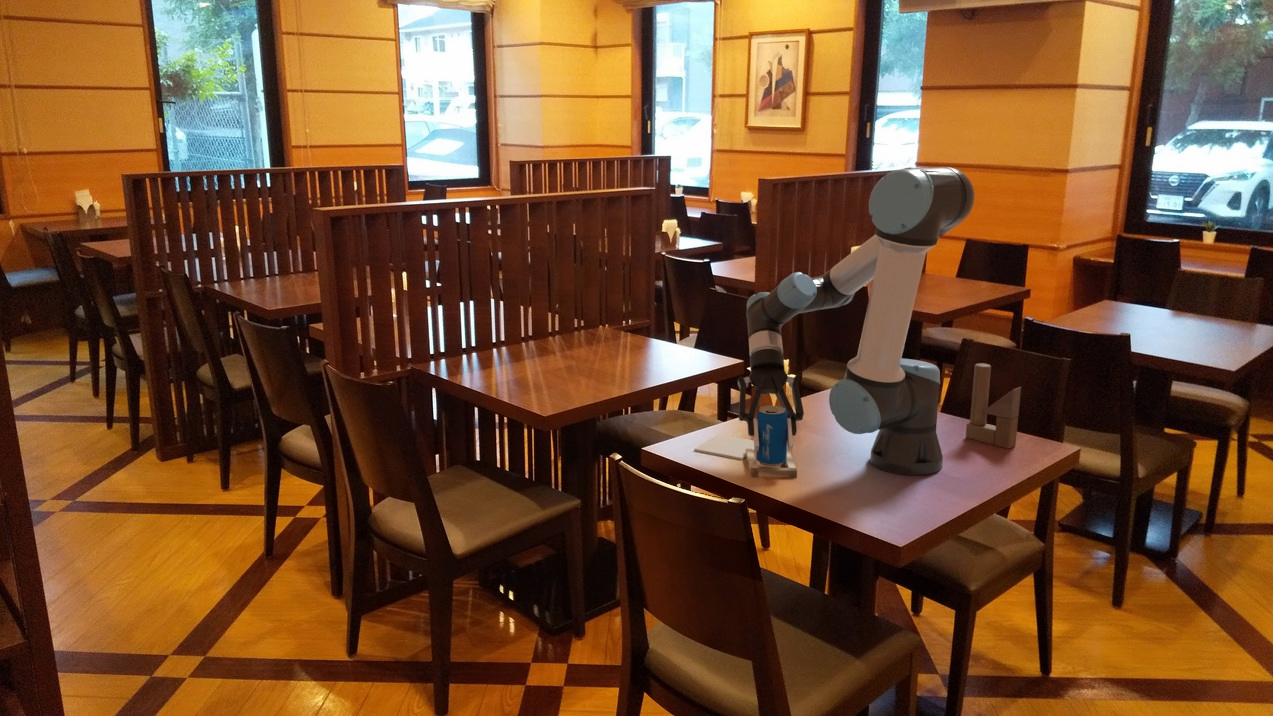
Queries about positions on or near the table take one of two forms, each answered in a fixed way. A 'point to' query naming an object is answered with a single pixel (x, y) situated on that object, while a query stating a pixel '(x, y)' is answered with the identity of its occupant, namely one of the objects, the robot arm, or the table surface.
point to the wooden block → (992, 412)
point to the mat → (726, 446)
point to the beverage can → (772, 435)
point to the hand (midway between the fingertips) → (773, 448)
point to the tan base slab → (771, 472)
